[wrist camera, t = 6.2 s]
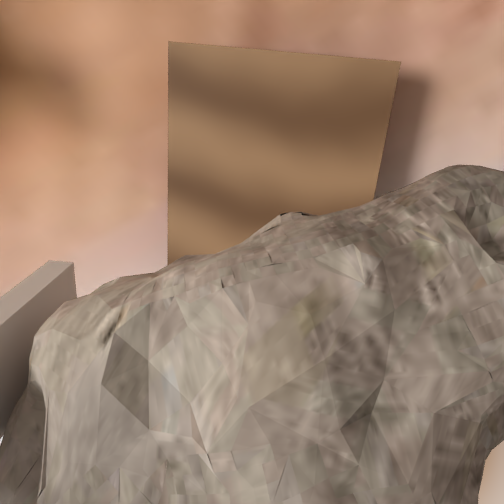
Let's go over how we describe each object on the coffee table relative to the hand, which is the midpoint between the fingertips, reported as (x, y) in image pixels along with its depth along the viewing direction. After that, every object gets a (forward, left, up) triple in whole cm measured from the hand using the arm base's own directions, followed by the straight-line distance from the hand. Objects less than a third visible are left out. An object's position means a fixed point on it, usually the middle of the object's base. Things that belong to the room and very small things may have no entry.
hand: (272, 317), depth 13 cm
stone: (0, 0, -2) cm, 2 cm away
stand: (0, 0, -17) cm, 17 cm away
